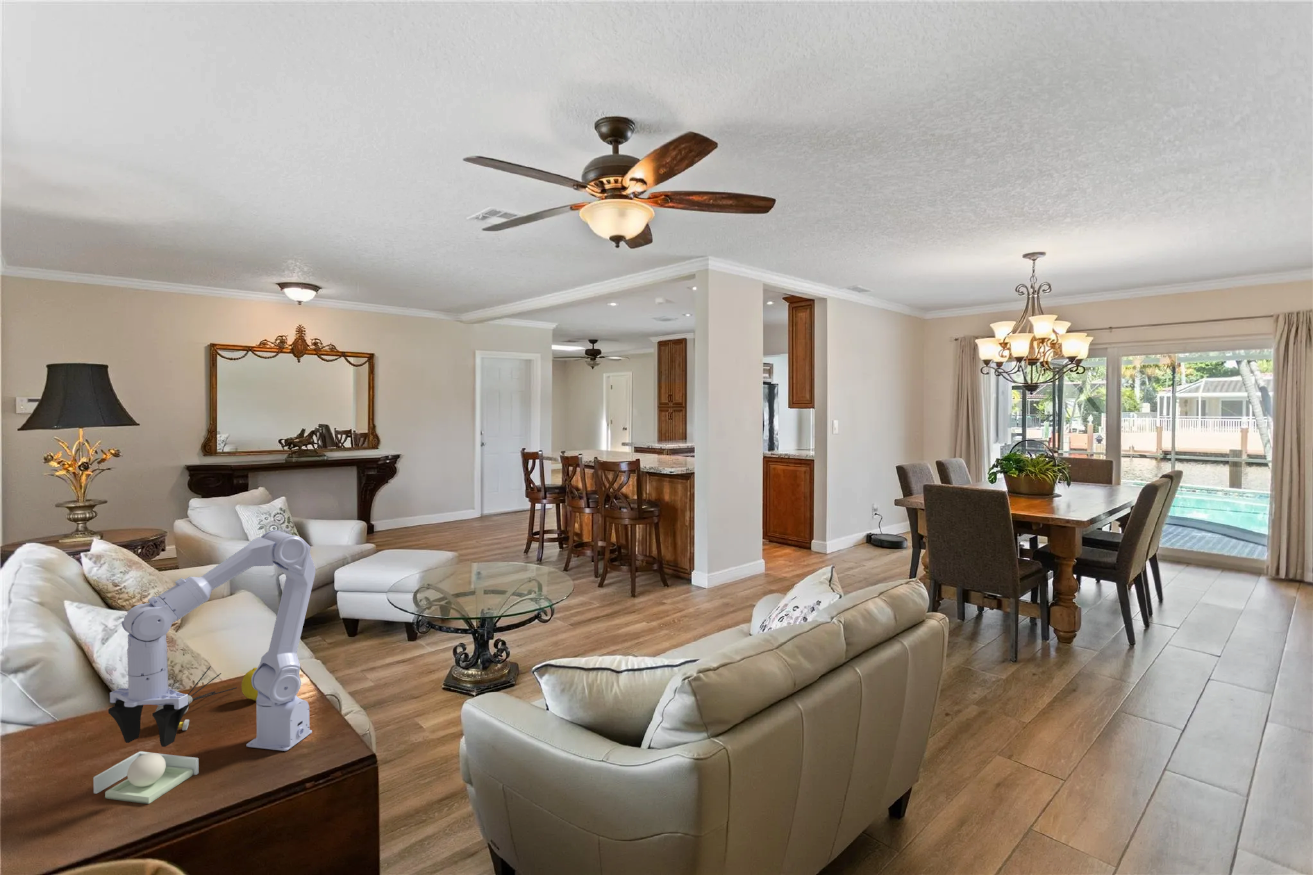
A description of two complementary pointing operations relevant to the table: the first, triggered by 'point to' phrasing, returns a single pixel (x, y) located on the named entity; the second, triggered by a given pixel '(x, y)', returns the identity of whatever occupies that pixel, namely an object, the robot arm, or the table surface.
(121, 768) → the acrylic walls
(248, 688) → the lemon
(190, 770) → the resting spot
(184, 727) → the reed diffuser
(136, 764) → the ball
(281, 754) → the table surface
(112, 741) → the table surface
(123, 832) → the table surface
